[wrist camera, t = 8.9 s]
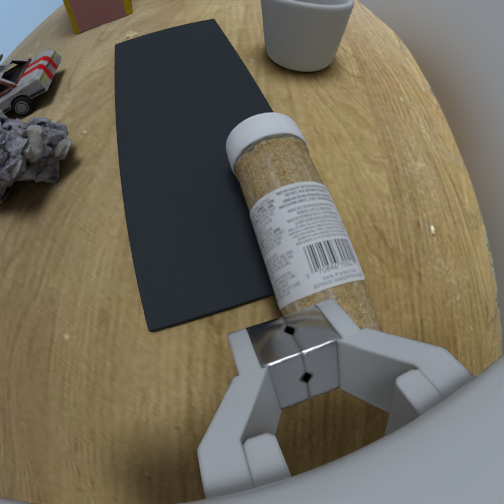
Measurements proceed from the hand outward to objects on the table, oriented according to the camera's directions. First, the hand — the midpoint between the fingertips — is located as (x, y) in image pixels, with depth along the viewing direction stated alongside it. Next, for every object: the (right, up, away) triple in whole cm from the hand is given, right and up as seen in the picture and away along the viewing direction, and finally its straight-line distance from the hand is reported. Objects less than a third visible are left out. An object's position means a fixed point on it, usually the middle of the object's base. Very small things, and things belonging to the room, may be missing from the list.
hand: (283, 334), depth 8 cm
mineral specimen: (-20, +8, +12) cm, 25 cm away
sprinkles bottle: (+4, -3, +5) cm, 7 cm away
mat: (-6, +14, +14) cm, 21 cm away
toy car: (-31, +19, +16) cm, 40 cm away
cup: (+5, +22, +18) cm, 29 cm away
